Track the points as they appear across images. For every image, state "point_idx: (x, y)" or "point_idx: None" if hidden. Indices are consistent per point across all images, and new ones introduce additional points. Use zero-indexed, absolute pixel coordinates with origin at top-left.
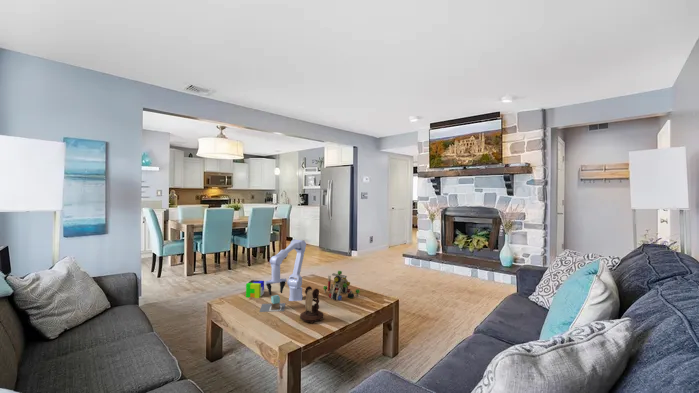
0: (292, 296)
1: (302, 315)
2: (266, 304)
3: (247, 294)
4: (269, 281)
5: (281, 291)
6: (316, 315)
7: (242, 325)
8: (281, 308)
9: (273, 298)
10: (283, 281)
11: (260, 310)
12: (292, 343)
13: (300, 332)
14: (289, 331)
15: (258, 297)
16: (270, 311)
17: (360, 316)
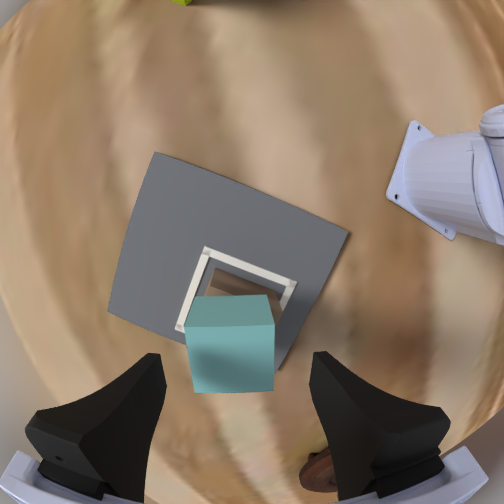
0: (431, 207)
1: (311, 480)
2: (184, 181)
3: None
4: None
5: (315, 404)
6: None
7: (51, 393)
8: (275, 328)
9: (196, 390)
10: (406, 495)
11: (116, 289)
12: None
13: (256, 501)
14: (224, 493)
15: (182, 2)
16: (181, 342)
17: (455, 443)
